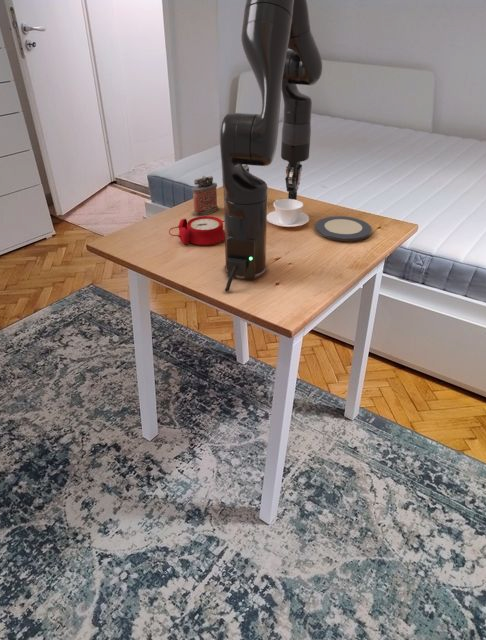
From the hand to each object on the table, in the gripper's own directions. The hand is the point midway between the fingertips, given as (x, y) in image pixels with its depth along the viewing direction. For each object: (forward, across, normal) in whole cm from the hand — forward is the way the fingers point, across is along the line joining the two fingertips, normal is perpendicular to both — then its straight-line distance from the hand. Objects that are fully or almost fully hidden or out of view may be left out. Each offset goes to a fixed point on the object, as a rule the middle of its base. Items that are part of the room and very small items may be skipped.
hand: (292, 203), depth 137 cm
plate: (+3, +8, +15) cm, 18 cm away
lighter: (+3, +4, -25) cm, 25 cm away
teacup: (+3, +6, 0) cm, 7 cm away
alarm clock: (+3, +22, -21) cm, 30 cm away
